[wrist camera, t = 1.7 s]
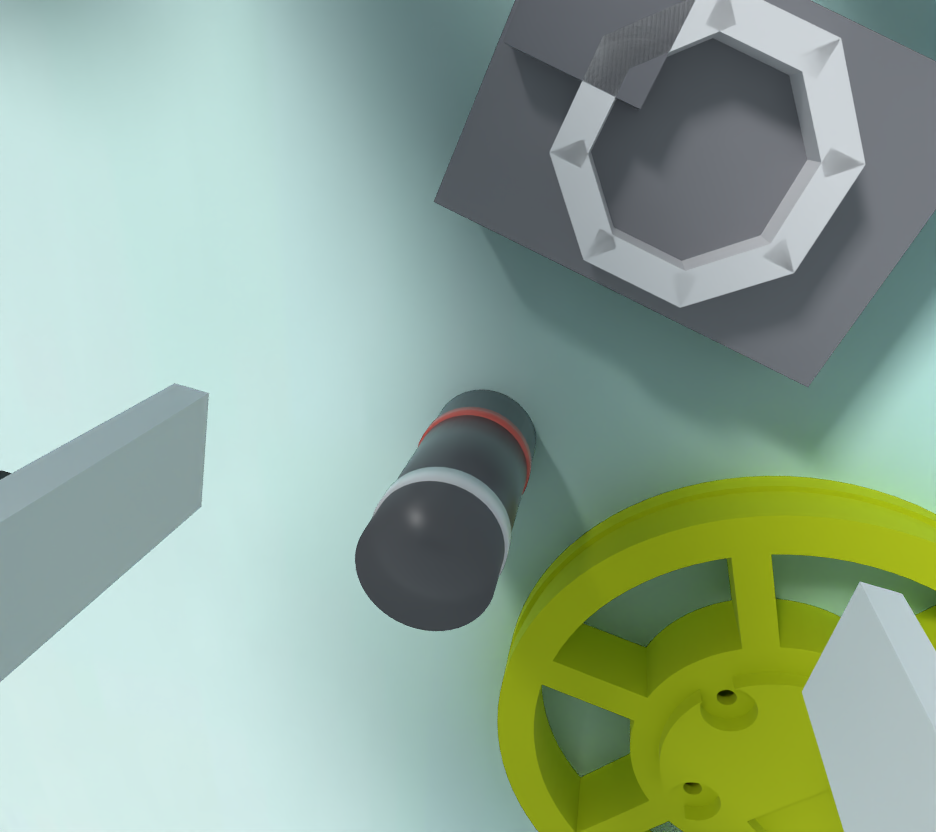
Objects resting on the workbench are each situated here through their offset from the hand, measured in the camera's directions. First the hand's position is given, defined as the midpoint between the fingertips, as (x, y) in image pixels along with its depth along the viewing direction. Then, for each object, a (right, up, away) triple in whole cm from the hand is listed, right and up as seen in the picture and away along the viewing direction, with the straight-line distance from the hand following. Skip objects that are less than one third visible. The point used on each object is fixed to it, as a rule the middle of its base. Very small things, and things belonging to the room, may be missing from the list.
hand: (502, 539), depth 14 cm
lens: (0, +1, +22) cm, 22 cm away
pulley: (+15, -13, +25) cm, 33 cm away
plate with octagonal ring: (+8, +14, +16) cm, 22 cm away
